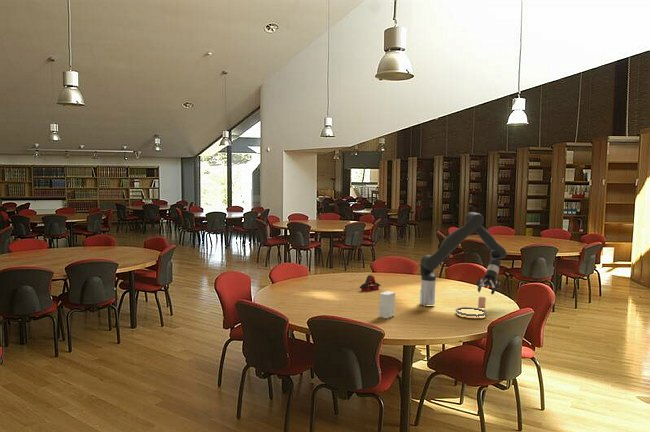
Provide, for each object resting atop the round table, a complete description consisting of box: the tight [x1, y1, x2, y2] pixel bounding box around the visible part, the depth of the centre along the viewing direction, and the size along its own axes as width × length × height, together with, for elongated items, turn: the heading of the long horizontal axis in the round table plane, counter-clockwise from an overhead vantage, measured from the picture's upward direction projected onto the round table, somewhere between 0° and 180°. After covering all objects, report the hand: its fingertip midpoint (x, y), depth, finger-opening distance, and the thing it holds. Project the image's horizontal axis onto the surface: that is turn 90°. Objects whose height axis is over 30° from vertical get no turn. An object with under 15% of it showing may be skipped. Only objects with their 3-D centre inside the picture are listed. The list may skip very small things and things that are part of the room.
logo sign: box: [359, 274, 382, 292], centre depth 378 cm, size 18×4×11 cm, turn 124°
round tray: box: [455, 306, 488, 317], centre depth 317 cm, size 18×18×3 cm
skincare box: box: [378, 290, 396, 319], centre depth 308 cm, size 8×6×15 cm
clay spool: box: [477, 296, 487, 309], centre depth 328 cm, size 4×4×8 cm
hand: (485, 292), depth 333 cm, fingers open, 8 cm apart
